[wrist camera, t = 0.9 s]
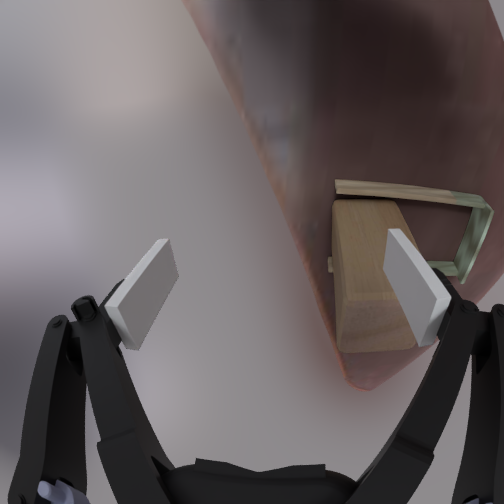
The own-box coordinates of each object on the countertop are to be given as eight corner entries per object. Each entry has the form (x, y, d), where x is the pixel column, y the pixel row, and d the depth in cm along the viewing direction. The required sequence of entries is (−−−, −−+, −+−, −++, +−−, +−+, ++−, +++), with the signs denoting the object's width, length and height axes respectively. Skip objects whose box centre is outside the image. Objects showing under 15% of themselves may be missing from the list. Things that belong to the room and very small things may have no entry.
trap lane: (334, 179, 37) (338, 195, 33) (480, 195, 32) (494, 211, 28) (327, 260, 46) (328, 280, 42) (454, 265, 42) (463, 283, 38)
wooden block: (387, 249, 43) (414, 351, 27) (331, 250, 45) (336, 356, 30) (395, 196, 37) (441, 296, 21) (331, 196, 39) (344, 301, 24)
